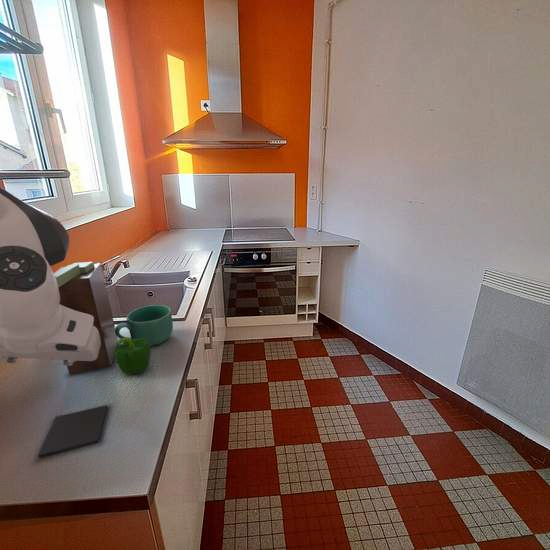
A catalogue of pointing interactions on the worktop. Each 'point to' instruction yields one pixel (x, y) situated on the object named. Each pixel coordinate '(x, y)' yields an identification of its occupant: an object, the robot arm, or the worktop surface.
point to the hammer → (72, 271)
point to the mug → (148, 324)
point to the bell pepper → (132, 355)
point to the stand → (94, 301)
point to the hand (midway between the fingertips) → (41, 360)
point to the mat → (74, 431)
